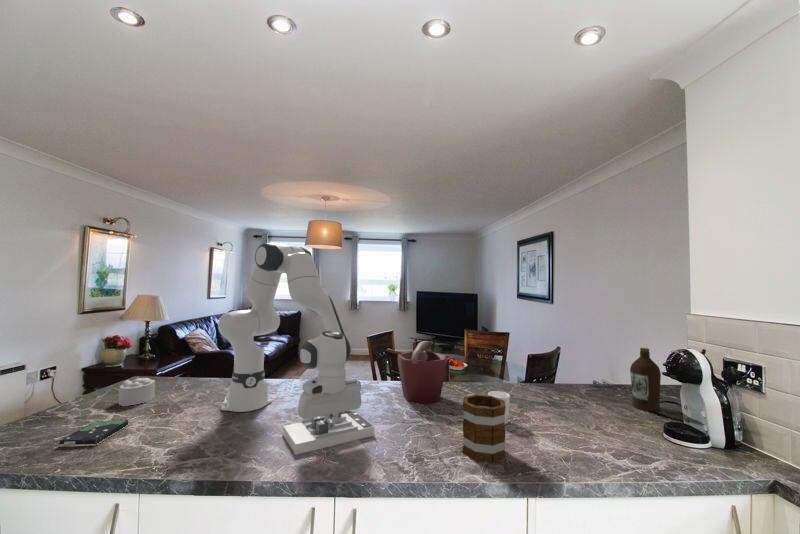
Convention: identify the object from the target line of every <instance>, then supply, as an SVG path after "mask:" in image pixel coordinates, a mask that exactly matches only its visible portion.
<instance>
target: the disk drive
mask: <svg viewBox="0 0 800 534" xmlns="http://www.w3.org/2000/svg"><path fill="white" fill-rule="evenodd" d="M126 425H128V426H129V419H115V420H114V419H112V420H97V421H94V422H92V423H90V424H89V423H88V424H87V425H86V426H84V427H82V428H81V429H78V430H76V431H75V432H72V433H70V434H69V435H67V436H65V437H63V438H61V439H60V440H59V442H58V443H59V444H97V443H99V442H100V441H102V440H103V439H105V438H107V437H108V436H110V435H112V434H113V433H115V432H117V431H119V430H120V429H122V428H123V427H125V426H126Z"/></svg>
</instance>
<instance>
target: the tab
mask: <svg viewBox="0 0 800 534" xmlns="http://www.w3.org/2000/svg"><path fill="white" fill-rule="evenodd" d="M325 433H328V422H327V421H325V420H323V421H322V420H321V421H318V422H316V434H317V435H320V434H325Z"/></svg>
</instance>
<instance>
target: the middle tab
mask: <svg viewBox="0 0 800 534" xmlns="http://www.w3.org/2000/svg"><path fill="white" fill-rule="evenodd" d="M321 420H322V421H323V420H324V417H323V416H319V417H314V418H312V425H311V427H312V428H313V429H316V422H318V421H321Z"/></svg>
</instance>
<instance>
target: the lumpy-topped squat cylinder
mask: <svg viewBox="0 0 800 534" xmlns="http://www.w3.org/2000/svg"><path fill="white" fill-rule="evenodd" d="M155 389H156V380H155V379H151V378H149V377H142V378H141V377H140V378H135V379H133V380H130V379H127V380H124V381H123V382H122V384H121V385H120V386H119V389H118V391H119V392H118V404H119V405H121V406H129V405H135V404H139V405H141V404H140V403H143V402H146V401H148V400H150V399H152V398H153V397H154V398H155ZM154 398H153V399H154ZM153 399H152V400H153ZM150 401H151V400H150ZM148 402H149V401H148ZM146 403H147V402H146ZM143 404H144V403H143ZM135 406H136V405H135Z"/></svg>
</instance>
